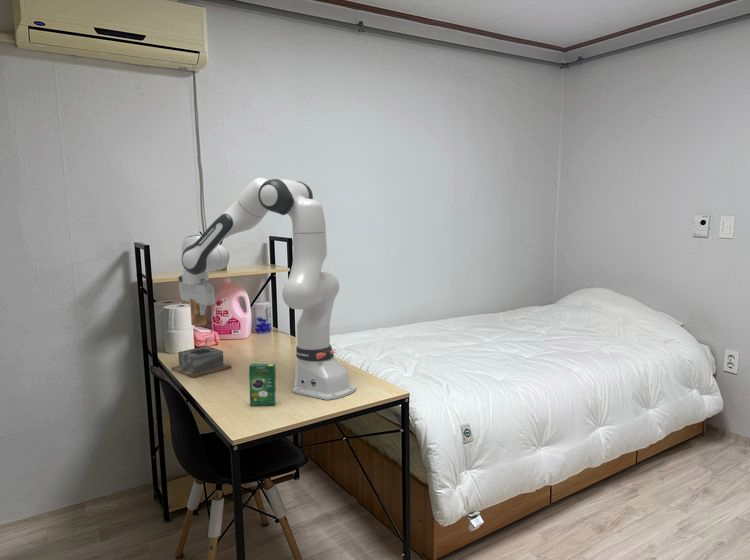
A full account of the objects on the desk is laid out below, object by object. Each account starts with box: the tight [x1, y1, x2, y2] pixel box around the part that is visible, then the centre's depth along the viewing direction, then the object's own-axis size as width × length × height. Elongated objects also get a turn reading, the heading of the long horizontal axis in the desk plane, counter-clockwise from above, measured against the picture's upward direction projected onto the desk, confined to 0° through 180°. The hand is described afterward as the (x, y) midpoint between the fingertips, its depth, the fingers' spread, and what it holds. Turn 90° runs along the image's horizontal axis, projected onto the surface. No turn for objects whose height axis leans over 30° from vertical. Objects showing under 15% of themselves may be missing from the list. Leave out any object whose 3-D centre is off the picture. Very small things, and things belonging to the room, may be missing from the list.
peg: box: [189, 299, 207, 327], centre depth 198 cm, size 4×4×10 cm
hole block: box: [171, 345, 232, 379], centre depth 200 cm, size 16×16×7 cm
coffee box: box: [248, 363, 277, 407], centre depth 162 cm, size 8×3×13 cm, turn 91°
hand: (198, 314), depth 198 cm, fingers closed on peg, 4 cm apart
